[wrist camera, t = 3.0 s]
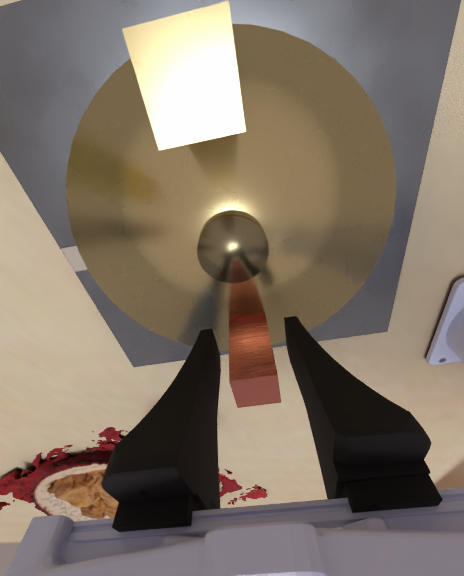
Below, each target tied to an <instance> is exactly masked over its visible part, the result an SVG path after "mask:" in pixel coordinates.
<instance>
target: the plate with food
mask: <svg viewBox="0 0 464 576" xmlns="http://www.w3.org/2000/svg"><path fill="white" fill-rule="evenodd" d="M121 431H124V430H120V431H115V428H113V427H109V428H106V429H105V430H104V431H103V432H101V433H100V434H99V435H100V436H99V437H106V439H107V441H104V440H103V441H102V440H98V441H100V442H97V444H100V445H99V447H93V448H87V449H86V450H87V451H88V450H89V451H91V450H93V449H96V450H100V451H95V452H93V453H86V454H79V455H76V456H68V455H70V454H69V453H65V452H66V451H65V452H62V451H63V450H62V449H64V448H55V449H53V450H52V451H50V453H48V454H47V457H46V458H45V460H44V461H43V462H41V461H40V458H41V454H42V453H41V454H39V455H38V456H37V457H36V459H35V460H34V461H33V463H32V464H34V465H35V466H36V470H35V471H34V472H33V471H31V470H27V469H26V470H24V471H23V472H22V473H20V472H19V471H18V472H17V470H14V471H13V472H11V473H9V474H8V475H7V476H5V477H4V478H2V479H1V480H0V495H7V494H8V493H10V492H13V497H14V498H16V499H20V500H24V501H26V502H28V503H32V502H33V503H34V502H35V505H36V506H35V508H37V509H38V510H41V511H42V512H44V513H45V514H46V515H48V516H52V515H63V516H67V517H69V518H71V519H72V520H73V521H85V520H97V519H108V518H115V514H116V510H117V507H118V503H119V502H118V501H117V500H115V499H114V498H113V497H112V496H110V495H109V494H108V493H107V492H105V490H104V489H103V488H102V484H101V482H102V479H103V476H104V473H105V470H106V467H107V464H108V462H109V459H110V456H111V454H112V452H113V450H114V447H115V445H116V444H118V443H119V442H118V441H121V440H122V438H120V437H119V434H120V433H121ZM126 432H127V431H126ZM111 439H113V440H117V441H113V442H111V441H112V440H111ZM92 441H94V440H92ZM115 442H116V443H115ZM71 446H73V445H67V446H66V447H71ZM68 450H69V449H68ZM54 452H57V453H54ZM83 452H84V451H83ZM83 452H81V453H83ZM74 454H75V453H74ZM53 455H58V457H56V458H53V459H51V460H50V458H51V457H52V456H53ZM46 460H47V461H46ZM218 471H219V468H218ZM32 472H33V473H32ZM227 472H228V471H227ZM228 474H232V473H230V472H228ZM21 475H22V476H21ZM221 475H222V474H221ZM221 475H220V473H219V482H220V481H221V482H222V485H223V486H222V491H221V492H219V494H220V497H222V496H223V495H224V494H226V493H227V492H230V493H231V492H234V491H237V490H240V489H242V486H239V485H238V484H237V483H236V480H234V479H233V480H230V479H228V477H225V475H224V476H223V475H222V476H221ZM255 486H256V487H252V488H255V489H258V490H251V492H253V491H255V492H253V493H251V492H249V493H245V494H248V495H245V496H241V497H239V498H243V499H242V500H243V501H246V498H245V497H248V498H252V499H257V498H260V497H263V498H265V497H267V493H266V492H265V490H264V489H261V488H262V487H261V488H259V486H257V485H255ZM248 489H251V488H248ZM248 489H246V490H248ZM242 493H243V492H242ZM240 495H243V494H240ZM236 500H237V498H234V500H230V501H231V502H232V504H233V505H234V502H233V501H235V502H237V501H236ZM14 501H15V500H13V502H14ZM231 502H228V504H231ZM7 505H10V503H9V504H8V503H6V502H0V510H1V509H2V507H3V506H7Z"/></svg>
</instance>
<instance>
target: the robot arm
mask: <svg viewBox="0 0 464 576" xmlns="http://www.w3.org/2000/svg"><path fill="white" fill-rule="evenodd" d="M284 324H285V335H286V345H287V350H288V354H289V358H290V362H291V365H292V368H293V371H294V374H295V377H296V380H297V382H298V385H299V388H300V391H301V394H302V397H303V400H304V403H305V406H306V410H307V414H308V418H309V422H310V426H311V430H312V434H313V438H314V442H315V446H316V450H317V455H318V459H319V463H320V467H321V472H322V476H323V480H324V485H325V489H326V494H327V498H328V499H327V500H315V501H304V502H292V503H281V504H269V505H258V506H246V507H235V508H223V509H220V494H219V474H218V443H217V410H218V398H219V386H220V372H221V368H220V352H219V349H218V346H217V342H216V339H215V336H214V333H213V330H212V328H211V329H205V330H201V331H200V333H199V335H198V337H197V339H196V342H195V344H194V346H193V348H192V350H191V352H190V354H189V355H188V357H187V359H186V361H185V363H184V365H183V366H182V368H181V370H180V371H179V373H178V375H177V376H176V378H175V379H174V381H173V382H172V384H171V385H170V386H169V388H168V389H167V391H166V392H165V393H164V395H163V396H162V397H161V398H160V400H159V401H158V402H157V403H156V405H155V406H154V407H153V408H152V409H151V410H150V412H149V413H148V414H147V415H146V416H145V417H144V418H143V419H142V420H141V421H140V422H139V424H138V425H137V426H136V427H135V428H134V429H133V430H132V431H130V432H129V433H128V434H127V435H126V436H125V437H124V438H123V439H122V440H121V441H120V442H119V443H118V444H116V445H115V447H114V450H113V452H112V454H111V456H110V459H109V462H108V464H107V467H106V470H105V473H104V476H103V479H102V482H101V484H102V488H103V489H104V490H105V492H107V493H108V494H109V495H110V496H112V497H113V498H114V499H115V500H117V501H118V502H119V503H118V507H117V510H116V514H115V518H108V519H97V520H85V521H73V520H72V519H71V518H69V517H67V516H63V515H52V516H41V517H35V518H33V519H32V521H31V523H30V525H29V527H28V529H27V531H26V533H25V535H24V537H23V539H22V541H21V543H20V545H19V547H18V550H17V551H16V554H15V556H14V558H13V560H12V562H11V564H10V566H9V568H8V570H7V572H6V574H5V576H464V488H455V489H454V488H453V489H443V490H437V489H436V487H435V485H434V483H433V482H432V480H431V478H430V476H429V475H428V474H430V470H429V468H428V466H427V464H426V463H425V461H424V458H425V456H426V455H427V453H428V451H429V449H430V445H431V441H430V439H429V437H428V435H427V434H426V432H425V431H424V429H423V428H422V427H421V425H420V424H419V423H418V421H417V420H416V419H415V418H414V416H413V415H412V414H411V413H410V412H409V411H407V410H405V409H403V408H402V407H400V406H398V405H396V404H395V403H393V402H391V401H389V400H388V399H386V398H385V397H383V396H382V395H380V394H378V393H377V392H375V391H374V390H372V389H371V388H370V387H368V386H367V385H365V384H364V383H363V382H361V381H360V380H359V379H357V378H356V377H354V376H353V375H352V374H351V373H349V372H348V371H347V370H346V369H345V368H343V367H342V366H341V365H340V364H339V363H338V362H336V361H335V360H334V359H333V358H332V357H331V356H330V355H329V354H328V353H327V352H326V351H325V350H324V349H323V348H322V347H321V346H320V345H319V344H318V343H317V341H316V340H315V339H314V338H313V337H312V336H311V335H310V333H309V332H308V331H307V330H306V328H305V327H304V326H303V324H302V323H301V322H300V320H299V319H298V317H296V316H291V317H284ZM426 361H427V362H428V363H429V364H430V365H439V364H447V363H455V362H464V278H460V279H459V280H457V281H456V282H455V283H454V285H453V287H452V290H451V293H450V295H449V298H448V301H447V303H446V306H445V309H444V311H443V314H442V317H441V320H440V322H439V325H438V328H437V330H436V333H435V336H434V338H433V341H432V344H431V346H430V349H429V352H428V355H427V357H426ZM341 527H342V528H341Z"/></svg>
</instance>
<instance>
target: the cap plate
mask: <svg viewBox="0 0 464 576" xmlns="http://www.w3.org/2000/svg"><path fill="white" fill-rule="evenodd" d="M225 1H229V6H230V14H231V22H232V24H253V25H257V26H262V27H267V28H271V29H276V30H281V31H283V32H286V33H288V34H291V35H293V36H295V37H298V38H300V39H303V40H305V41H307V42H310V43H311V44H313V45H314V46H316V47H317V48H319V49H321V50H322V51H324V52H325V53H327V54H328V55H330V56H331V57H333V58H334V59H335V60H336V61H337V62H339V63H340V64H341V65H342V66H343V67H344V68H345V69H346V70H347V71H348V72H349V73H350V74H351V75H352V76H354V77H355V79H356V80H357V81H358V83H359V84H360V85H361V87H362V88H363V89H364V91H365V92H366V93H367V94H368V96H369V97H370V98H371V100H372V102H373V104H374V106H375V108H376V109H377V111H378V113H379V115H380V117H381V119H382V121H383V123H384V126H385V129H386V132H387V135H388V138H389V141H390V144H391V147H392V153H393V158H394V164H395V170H396V199H395V208H394V216H393V220H392V224H391V228H390V232H389V236H388V238H387V241H386V244H385V246H384V249H383V251H382V254H381V256H380V258H379V260H378V261H377V263H376V265H375V267H374V269H373V271H372V272H371V274H370V275H369V277H368V278H367V280H366V281H365V283H364V284H363V285H362V287H361V288H360V289H359V290H358V291H357V292H356V294H355V295H354V296H353V297H352V298H351V299H350V300H349V301H348V302H347V303H346V304H345V305H344V306H343V307H342V308H341V309H340V310H339V311H338V312H336V313H335V314H334V315H332V316H331V317H330V318H328V319H327V320H326V321H324V322H323V323H321V324H320V325H318V326H316V327H315V328H313V329H312V330H310V331H308V332H309V333H310V335H311V336H312V337H313V338H314V339H315V340H316V341H323V340H330V339H337V338H345V337H352V336H359V335H366V334H373V333H380V332H387V331H388V327H389V322H390V318H391V313H392V309H393V304H394V300H395V295H396V291H397V286H398V282H399V277H400V273H401V268H402V264H403V259H404V255H405V250H406V246H407V241H408V237H409V232H410V228H411V223H412V219H413V214H414V210H415V205H416V201H417V196H418V192H419V187H420V183H421V178H422V174H423V169H424V165H425V160H426V156H427V151H428V147H429V142H430V138H431V133H432V129H433V124H434V120H435V115H436V111H437V106H438V102H439V97H440V93H441V88H442V84H443V79H444V75H445V70H446V66H447V61H448V57H449V52H450V48H451V43H452V39H453V34H454V30H455V25H456V21H457V16H458V12H459V7H460V3H461V0H21V1H18V2H14V3H11V4H7V5H4V6H0V152H1V153H2V155H3V157H4V158H5V160H6V161H7V163H8V165H9V166H10V168H11V169H12V171H13V173H14V174H15V176H16V178H17V179H18V181H19V182H20V184H21V186H22V187H23V189H24V191H25V192H26V194H27V195H28V197H29V199H30V200H31V202H32V203H33V205H34V207H35V208H36V210H37V212H38V213H39V215H40V216H41V218H42V220H43V221H44V223H45V224H46V226H47V228H48V229H49V231H50V233H51V234H52V236H53V237H54V239H55V241H56V242H57V244H58V245H59V247H60V249H61V250H62V252H63V254H64V255H65V257H66V258H67V260H68V262H69V263H70V265H71V266H72V268H73V270H74V271H75V273H76V275H77V276H78V278H79V279H80V281H81V283H82V284H83V286H84V287H85V289H86V291H87V292H88V294H89V296H90V297H91V299H92V300H93V302H94V304H95V305H96V307H97V309H98V310H99V312H100V313H101V315H102V317H103V318H104V320H105V321H106V323H107V325H108V326H109V328H110V330H111V331H112V333H113V334H114V336H115V338H116V339H117V341H118V342H119V344H120V346H121V347H122V349H123V351H124V352H125V354H126V355H127V357H128V359H129V360H130V362H131V363H132V365H133V367H138V366H145V365H153V364H160V363H167V362H174V361H181V360H186V359H187V357H188V355H189V354H190V352H191V350H192V348H193V346H189V345H186V344H182V343H178V342H176V341H173V340H171V339H168V338H165V337H163V336H161V335H159V334H157V333H155V332H153V331H151V330H149V329H147V328H146V327H144V326H142V325H141V324H139V323H138V322H136V321H135V320H133V319H132V318H131V317H129V316H128V315H127V314H126V313H124V312H123V311H122V310H121V309H120V308H119V307H118V306H117V305H116V304H115V303H113V302H112V301H111V300H110V299H109V298H108V296H107V295H106V294H105V293H104V292H103V290H102V289H101V288H100V287H99V286H98V284H97V283H96V281H95V280H94V278H93V277H92V275H91V274H90V272H89V271H88V269H87V267H86V265H85V263H84V261H83V259H82V257H81V255H80V253H79V251H78V248H77V245H76V243H75V240H74V237H73V234H72V231H71V226H70V221H69V217H68V212H67V200H66V176H67V164H68V159H69V155H70V150H71V145H72V141H73V139H74V136H75V133H76V131H77V128H78V126H79V123H80V120H81V118H82V116H83V114H84V113H85V111H86V109H87V107H88V106H89V104H90V102H91V101H92V99H93V97H94V95H95V94H96V93H97V91H98V90H99V89H100V88H101V87H102V85H103V84H104V83H105V82H106V81H107V79H108V78H109V77H110V76H111V75H112V73H113V72H115V71H116V70H117V69H118V68H119V67H120V66H122V65H123V64H124V63H125V62H126V61H127V60H129V59H130V58H131V57H130V54H129V51H128V48H127V44H126V41H125V38H124V34H123V31H122V29H123V28H127V27H131V26H134V25H138V24H142V23H146V22H150V21H153V20H157V19H161V18H165V17H169V16H172V15H176V14H180V13H184V12H188V11H191V10H195V9H199V8H203V7H206V6H210V5H214V4H218V3H222V2H225ZM281 346H287V345H286V341H285V342H282V343H278V344H275V345H272V348H273V347H281ZM219 352H220V355H224V354H229V351H222V350H219Z"/></svg>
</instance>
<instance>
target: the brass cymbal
mask: <svg viewBox="0 0 464 576" xmlns="http://www.w3.org/2000/svg"><path fill="white" fill-rule="evenodd" d="M122 31H123V34H124V38H125V41H126V44H127V48H128V51H129V54H130V57H131V58H130V59H129V60H127V61H126V62H125V63H124V64H123V65H122V66H120V67H119V68H118V69H117V70H116V71H115V72H113V73H112V75H111V76H110V77H109V78H108V79H107V81H106V82H105V83H104V84H103V85H102V87H101V88H100V89H99V90H98V91H97V93H96V94H95V95H94V97H93V99H92V101H91V102H90V104H89V106H88V107H87V109H86V111H85V113H84V114H83V116H82V118H81V120H80V123H79V126H78V128H77V131H76V133H75V136H74V139H73V141H72V145H71V150H70V155H69V159H68V164H67V176H66V200H67V212H68V217H69V221H70V226H71V231H72V234H73V237H74V240H75V243H76V245H77V248H78V251H79V253H80V255H81V257H82V259H83V261H84V263H85V265H86V267H87V269H88V271H89V272H90V274H91V275H92V277H93V278H94V280H95V281H96V283H97V284H98V286H99V287H100V288H101V289H102V290H103V292H104V293H105V294H106V295H107V296H108V298H109V299H110V300H111V301H112V302H113V303H115V304H116V305H117V306H118V307H119V308H120V309H121V310H122V311H123V312H124V313H126V314H127V315H128V316H129V317H131V318H132V319H133V320H135V321H136V322H138V323H139V324H141V325H142V326H144V327H146V328H147V329H149V330H151V331H153V332H155V333H157V334H159V335H161V336H163V337H165V338H168V339H171V340H173V341H176V342H178V343H182V344H186V345H189V346H194V344H195V342H196V339H197V337H198V335H199V333H200V331H201V330H205V329H211V328H212V330H213V333H214V336H215V339H216V342H217V346H218V349H219V350H222V351H229V381H230V384H231V388H232V391H233V394H234V398H235V401H236V404H237V407H238V408H239V407H248V406H256V405H264V404H272V403H281V398H280V390H279V383H278V375H277V370H276V365H275V360H274V355H273V350H272V345H275V344H278V343H282V342H285V341H286V335H285V324H284V317H291V316H296V317H298V319H299V320H300V322H301V323H302V324H303V326H304V327H305V328H306V330H307V331H310V330H312V329H313V328H315V327H316V326H318V325H320V324H321V323H323V322H324V321H326V320H327V319H328V318H330V317H331V316H332V315H334V314H335V313H336V312H338V311H339V310H340V309H341V308H342V307H343V306H344V305H345V304H346V303H347V302H348V301H349V300H350V299H351V298H352V297H353V296H354V295H355V294H356V292H357V291H358V290H359V289H360V288H361V287H362V285H363V284H364V283H365V281H366V280H367V278H368V277H369V275H370V274H371V272H372V271H373V269H374V267H375V265H376V263H377V261H378V260H379V258H380V256H381V254H382V251H383V249H384V246H385V244H386V241H387V238H388V236H389V232H390V228H391V224H392V220H393V216H394V208H395V199H396V170H395V164H394V158H393V153H392V147H391V144H390V141H389V138H388V135H387V132H386V129H385V126H384V123H383V121H382V119H381V117H380V115H379V113H378V111H377V109H376V108H375V106H374V104H373V102H372V100H371V98H370V97H369V96H368V94H367V93H366V92H365V91H364V89H363V88H362V87H361V85H360V84H359V83H358V81H357V80H356V79H355V77H354V76H352V75H351V74H350V73H349V72H348V71H347V70H346V69H345V68H344V67H343V66H342V65H341V64H340V63H339V62H337V61H336V60H335V59H334V58H333V57H331V56H330V55H328V54H327V53H325V52H324V51H322V50H321V49H319V48H317V47H316V46H314V45H313V44H311V43H310V42H307V41H305V40H303V39H300V38H298V37H295V36H293V35H291V34H288V33H286V32H283V31H281V30H276V29H271V28H267V27H262V26H257V25H253V24H232V22H231V14H230V6H229V1H225V2H222V3H218V4H214V5H210V6H206V7H203V8H199V9H195V10H191V11H188V12H184V13H180V14H176V15H172V16H169V17H165V18H161V19H157V20H153V21H150V22H146V23H142V24H138V25H134V26H131V27H127V28H123V29H122Z"/></svg>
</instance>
